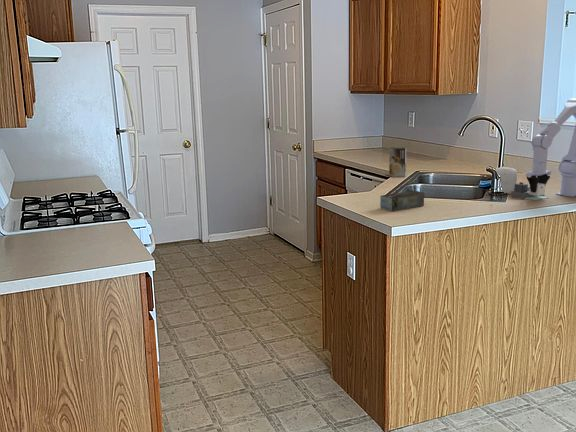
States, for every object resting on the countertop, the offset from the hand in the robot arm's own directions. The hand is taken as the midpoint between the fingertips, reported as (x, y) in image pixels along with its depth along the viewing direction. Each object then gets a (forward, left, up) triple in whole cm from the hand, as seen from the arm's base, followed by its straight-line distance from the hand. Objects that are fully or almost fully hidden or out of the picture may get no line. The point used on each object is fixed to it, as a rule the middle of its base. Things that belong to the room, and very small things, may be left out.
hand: (537, 191), depth 259 cm
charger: (0, 0, -1) cm, 1 cm away
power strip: (-1, -6, -3) cm, 7 cm away
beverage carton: (+63, -18, -4) cm, 66 cm away
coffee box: (+12, -84, -3) cm, 84 cm away
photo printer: (+2, -17, -3) cm, 17 cm away
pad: (0, 0, -3) cm, 3 cm away
